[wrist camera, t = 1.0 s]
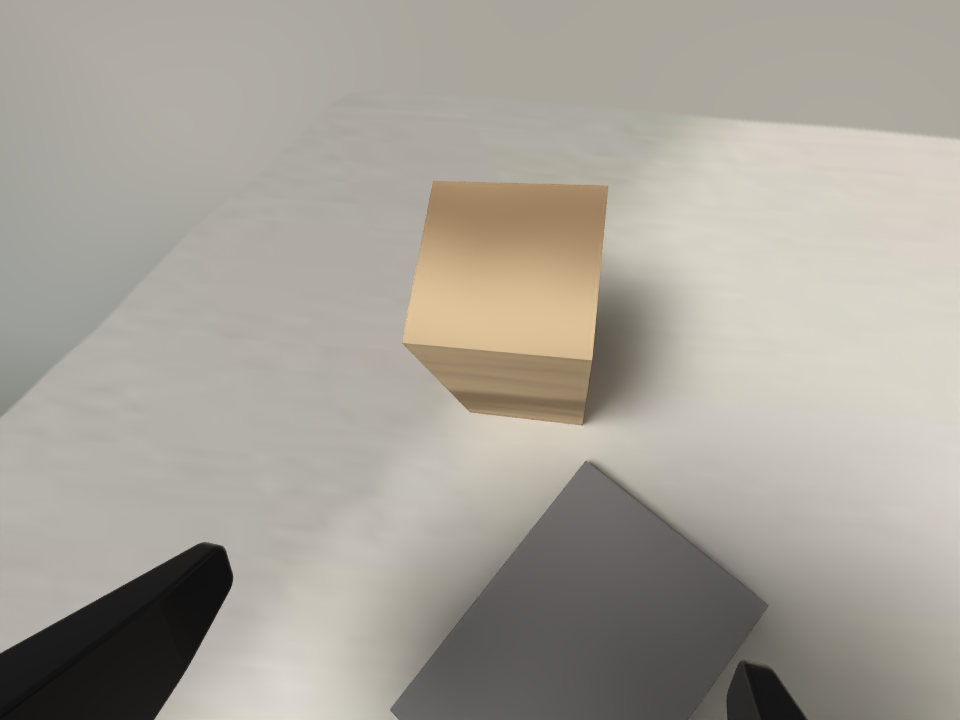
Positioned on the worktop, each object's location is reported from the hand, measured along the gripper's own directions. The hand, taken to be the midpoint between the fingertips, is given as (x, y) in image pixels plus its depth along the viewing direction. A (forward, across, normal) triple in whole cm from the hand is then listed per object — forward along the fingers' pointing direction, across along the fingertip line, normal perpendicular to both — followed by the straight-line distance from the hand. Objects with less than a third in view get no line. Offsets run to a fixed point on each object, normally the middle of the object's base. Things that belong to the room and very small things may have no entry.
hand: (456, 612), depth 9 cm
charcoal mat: (+8, -2, +11) cm, 14 cm away
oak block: (+15, +1, +3) cm, 15 cm away
